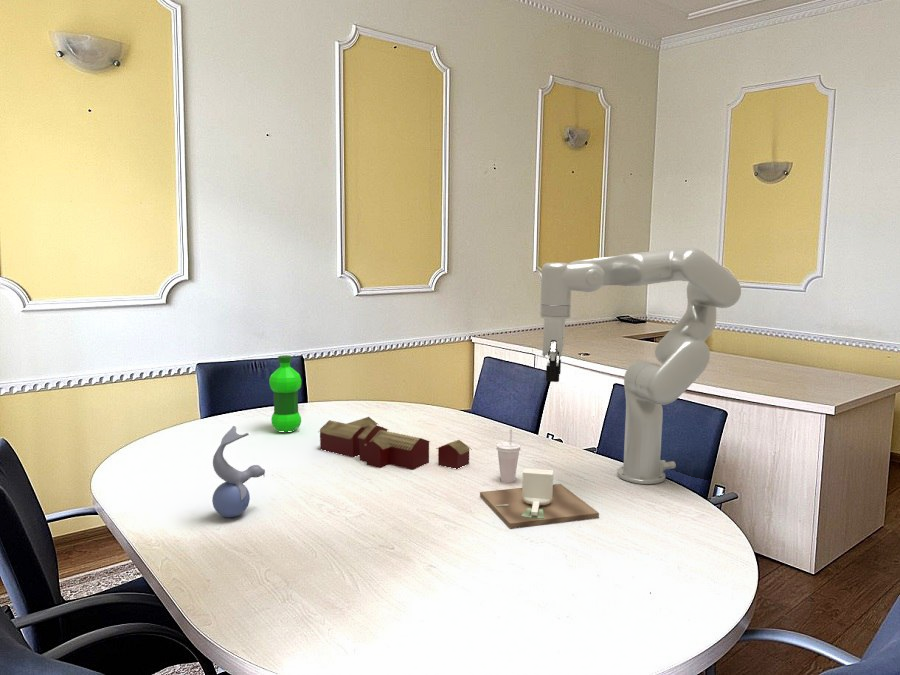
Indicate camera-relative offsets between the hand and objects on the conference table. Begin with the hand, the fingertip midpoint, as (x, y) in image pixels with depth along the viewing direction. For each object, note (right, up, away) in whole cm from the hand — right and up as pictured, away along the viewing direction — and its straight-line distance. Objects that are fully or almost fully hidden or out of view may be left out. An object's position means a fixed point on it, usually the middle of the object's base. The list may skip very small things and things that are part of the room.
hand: (553, 377), depth 179 cm
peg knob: (-6, -29, -16) cm, 33 cm away
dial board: (-6, -30, -12) cm, 33 cm away
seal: (-75, -31, -18) cm, 83 cm away
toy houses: (-43, -25, +25) cm, 56 cm away
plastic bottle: (-81, -21, +51) cm, 98 cm away
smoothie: (-11, -28, +6) cm, 31 cm away
